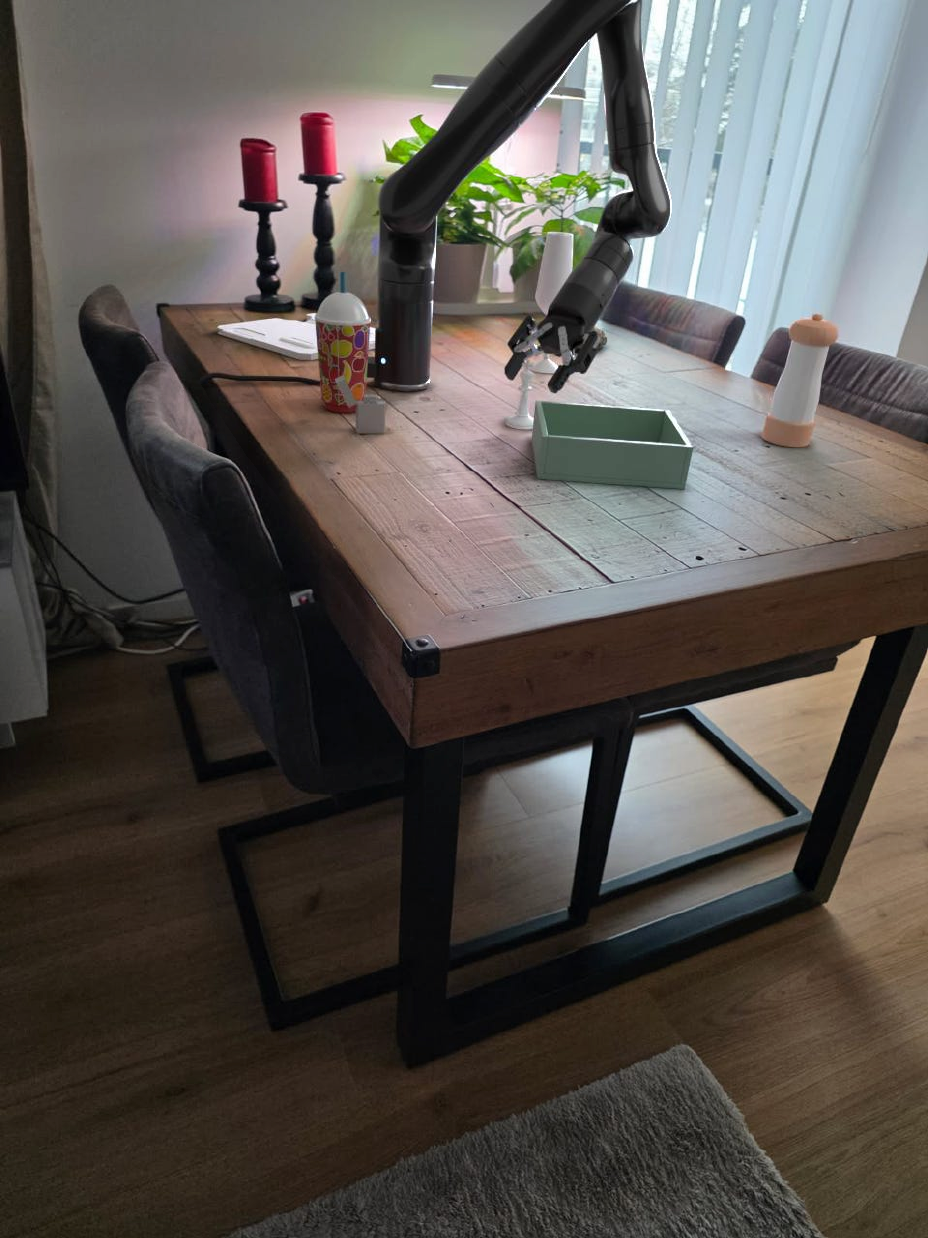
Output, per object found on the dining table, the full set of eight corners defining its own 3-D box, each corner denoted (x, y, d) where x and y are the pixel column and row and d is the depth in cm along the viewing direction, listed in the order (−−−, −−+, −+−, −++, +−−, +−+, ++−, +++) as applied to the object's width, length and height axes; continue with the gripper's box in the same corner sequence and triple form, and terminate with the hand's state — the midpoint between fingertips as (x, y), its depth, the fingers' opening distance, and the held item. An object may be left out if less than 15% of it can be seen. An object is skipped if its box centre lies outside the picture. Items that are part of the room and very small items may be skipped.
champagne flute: (523, 369, 163) (536, 232, 151) (533, 362, 168) (547, 230, 156) (556, 375, 161) (573, 237, 149) (566, 367, 166) (583, 234, 154)
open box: (537, 478, 112) (542, 436, 110) (531, 438, 127) (535, 400, 124) (684, 489, 113) (693, 447, 110) (662, 448, 127) (669, 410, 124)
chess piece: (535, 431, 130) (542, 364, 125) (503, 427, 131) (509, 361, 126) (539, 422, 134) (546, 357, 129) (508, 418, 135) (514, 353, 130)
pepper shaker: (785, 449, 131) (820, 319, 121) (751, 434, 136) (781, 309, 127) (818, 445, 134) (855, 318, 124) (784, 430, 139) (816, 308, 130)
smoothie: (318, 399, 137) (315, 266, 127) (370, 401, 138) (371, 269, 128) (314, 414, 130) (311, 274, 120) (369, 416, 131) (371, 278, 121)
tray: (213, 332, 172) (212, 324, 171) (318, 317, 191) (318, 310, 191) (304, 361, 157) (304, 352, 156) (409, 342, 176) (409, 334, 176)
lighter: (383, 429, 126) (384, 374, 122) (385, 433, 125) (386, 378, 121) (335, 429, 124) (334, 374, 120) (336, 433, 123) (336, 378, 119)
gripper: (538, 273, 133) (484, 358, 131) (614, 288, 125) (557, 378, 123) (555, 306, 139) (503, 387, 137) (629, 322, 131) (574, 408, 129)
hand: (529, 383), depth 130 cm, fingers open, 8 cm apart
